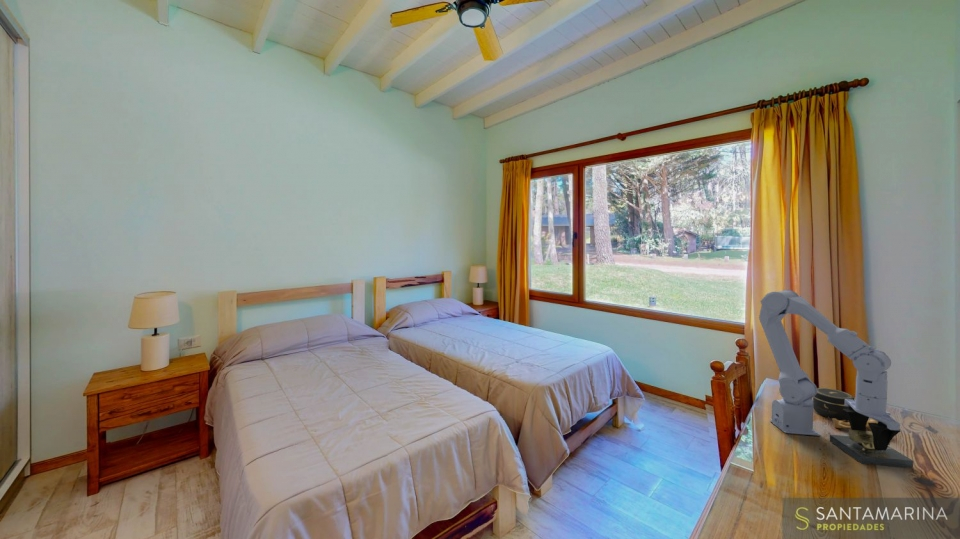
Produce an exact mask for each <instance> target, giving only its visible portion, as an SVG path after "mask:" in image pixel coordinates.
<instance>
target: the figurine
mask: <svg viewBox="0 0 960 539" xmlns="http://www.w3.org/2000/svg"><path fill="white" fill-rule="evenodd" d="M831 420H832V422H833V426H834V428H836V429H851V426H850V423H849V421H847V422H846V420H842V421H841V420H837V419H834V418H833V419H831ZM868 423H877V424H878V422H877V421H876V420H874V419H872V418H869V419H868V421H867V424H866V429H868V431H871V428H870V426H869V424H868Z"/></svg>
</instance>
